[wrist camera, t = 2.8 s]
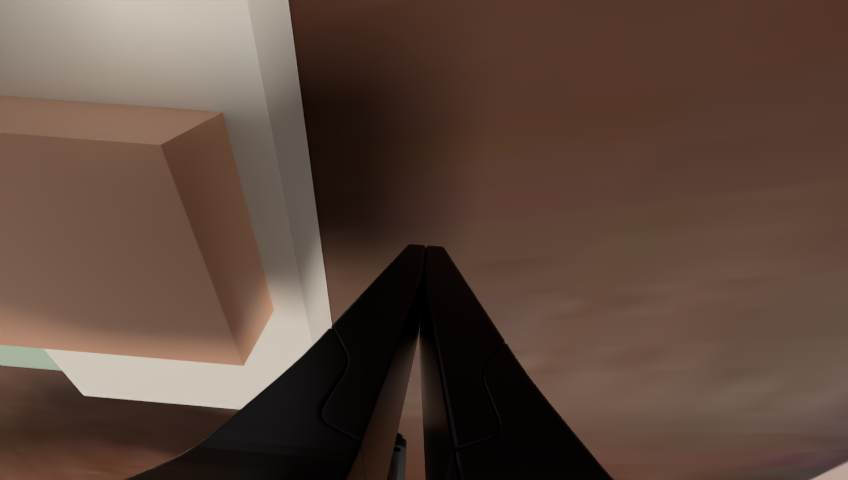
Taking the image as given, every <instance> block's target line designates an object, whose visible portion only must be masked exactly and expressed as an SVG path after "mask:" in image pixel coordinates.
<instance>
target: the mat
mask: <svg viewBox="0 0 848 480" xmlns="http://www.w3.org/2000/svg"><path fill="white" fill-rule="evenodd" d="M0 365H3V366H15V367H26V368H38V369H49V370H61V369H60V368H59V366H58V365H57V364H56V363H55V362H54V361H53V359H52V358H51V357H50V356H49V355H48V354H47V352H46V351H45V350H44V349H42V348H31V347H19V346H7V345H0ZM61 371H62V370H61Z"/></svg>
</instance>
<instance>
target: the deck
mask: <svg viewBox="0 0 848 480" xmlns="http://www.w3.org/2000/svg"><path fill="white" fill-rule="evenodd" d="M0 96H12V97H26V98H39V99H53V100H66V101H80V102H93V103H107V104H120V105H133V106H147V107H160V108H174V109H187V110H201V111H214V112H223V116H224V120H225V124H226V128H227V131H228V135H229V139H230V143H231V147H232V151H233V154H234V158H235V162H236V166H237V170H238V174H239V178H240V181H241V185H242V189H243V193H244V197H245V201H246V204H247V208H248V212H249V216H250V220H251V224H252V227H253V231H254V235H255V239H256V243H257V247H258V250H259V254H260V258H261V262H262V266H263V270H264V273H265V277H266V281H267V285H268V289H269V293H270V296H271V300H272V304H273V308H274V312H273V313H272V315H271V317H270V319H269V321H268V322H267V324H266V326H265V328H264V330H263V332H262V333H261V335H260V337H259V339H258V341H257V342H256V344H255V346H254V348H253V350H252V352H251V353H250V355H249V357H248V359H247V361H246V362H245V364H244V366H240V365H228V364H216V363H205V362H193V361H182V360H170V359H158V358H147V357H135V356H124V355H112V354H100V353H89V352H77V351H65V350H54V349H44V350H45V351H46V352H47V354H48V355H49V356H50V357H51V358H52V359H53V361H54V362H55V363H56V364H57V365H58V366H59V368H60V369H61V370H62V371H63V372H64V373H65V375H66V376H67V377H68V378H69V379H70V380H71V382H72V383H73V384H74V385H75V386H76V387H77V389H78V390H79V391H80V392H81V393H82V394H83V395H84V396H93V397H104V398H115V399H127V400H138V401H149V402H161V403H172V404H184V405H195V406H206V407H218V408H229V409H242V408H243V407H244V406H245V405H246V404H247V403H249V402H250V401H251V400H252V399H253V398H255V397H256V396H257V395H258V394H259V393H260V392H262V391H263V390H264V389H265V388H266V387H268V386H269V385H270V384H271V383H272V382H273V381H275V380H276V379H277V378H278V377H279V376H280V375H281V374H283V373H284V372H285V371H286V370H287V369H288V368H289V367H290V366H292V365H293V364H294V363H295V362H296V361H297V360H298V359H299V358H301V357H302V356H303V355H304V354H305V353H306V352H307V351H308V350H309V349H310V348H311V347H312V346H313V345H314V344H315V343H316V342H317V341H318V340H319V339H320V338H321V336H322V335H323V334H324V333H325V332H326V331H327V330H328V329H329V328H331V326H332V322H331V315H330V307H329V300H328V292H327V285H326V277H325V270H324V262H323V255H322V248H321V240H320V233H319V225H318V218H317V210H316V203H315V195H314V188H313V181H312V173H311V166H310V158H309V151H308V143H307V136H306V128H305V121H304V114H303V106H302V99H301V91H300V84H299V76H298V69H297V61H296V54H295V47H294V39H293V32H292V24H291V17H290V9H289V2H288V0H0Z"/></svg>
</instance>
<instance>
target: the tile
mask: <svg viewBox="0 0 848 480" xmlns="http://www.w3.org/2000/svg"><path fill="white" fill-rule="evenodd" d="M273 312H274V308H273V304H272V300H271V296H270V293H269V289H268V285H267V281H266V277H265V273H264V270H263V266H262V262H261V258H260V254H259V250H258V247H257V243H256V239H255V235H254V231H253V227H252V224H251V220H250V216H249V212H248V208H247V204H246V201H245V197H244V193H243V189H242V185H241V181H240V178H239V174H238V170H237V166H236V162H235V158H234V154H233V151H232V147H231V143H230V139H229V135H228V131H227V128H226V124H225V120H224V116H223V112H214V111H201V110H187V109H174V108H160V107H147V106H133V105H120V104H107V103H93V102H80V101H66V100H53V99H39V98H26V97H12V96H0V345H7V346H19V347H31V348H42V349H54V350H65V351H77V352H89V353H100V354H112V355H124V356H135V357H147V358H158V359H170V360H182V361H193V362H205V363H216V364H228V365H240V366H244V364H245V362H246V361H247V359H248V357H249V355H250V353H251V352H252V350H253V348H254V346H255V344H256V342H257V341H258V339H259V337H260V335H261V333H262V332H263V330H264V328H265V326H266V324H267V322H268V321H269V319H270V317H271V315H272V313H273Z"/></svg>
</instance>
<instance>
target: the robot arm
mask: <svg viewBox="0 0 848 480" xmlns="http://www.w3.org/2000/svg"><path fill="white" fill-rule="evenodd" d="M420 315H421V317H420ZM419 327H420V332H419ZM418 335H419V345H420V367H421V388H422V410H423V432H424V453H425V475H426V480H614V479H613V478H612V477H611V476H610V475H609V474H608V473H607V472H606V471H605V469H604V468H603V467H602V466H601V465H600V464H599V463H598V461H597V460H596V459H595V458H594V456H593V455H592V454H591V453H590V452H589V450H588V449H587V448H586V447H585V445H584V444H583V443H582V442H581V441H580V439H579V438H578V437H577V436H576V435H575V433H574V432H573V431H572V430H571V428H570V427H569V426H568V425H567V424H566V422H565V421H564V420H563V419H562V418H561V416H560V415H559V414H558V413H557V411H556V410H555V409H554V408H553V407H552V405H551V404H550V403H549V402H548V400H547V399H546V398H545V397H544V395H543V394H542V393H541V392H540V390H539V389H538V388H537V386H536V385H535V384H534V383H533V381H532V380H531V379H530V378H529V376H528V375H527V373H526V372H525V370H524V369H523V367H522V366H521V365H520V363H519V362H518V360H517V359H516V357H515V356H514V354H513V353H512V351H511V350H510V348H509V346H508V345H507V344H506V343H505V341H504V339H503V338H502V336H501V334H500V333H499V331H498V330H497V328H496V327H495V325H494V324H493V322H492V321H491V319H490V318H489V316H488V314H487V313H486V311H485V310H484V308H483V307H482V305H481V304H480V302H479V301H478V299H477V298H476V296H475V295H474V293H473V291H472V290H471V288H470V287H469V285H468V284H467V282H466V281H465V279H464V278H463V276H462V275H461V273H460V271H459V270H458V268H457V267H456V265H455V264H454V262H453V261H452V259H451V258H450V256H449V255H448V253H447V251H446V250H445V248H443V247H440V246H427V247H425V246H424V245H416V244H409V245H408V246H407V247H406V248H405V249H404V250H403V251H402V252H401V253H400V254H399V255H398V256H397V257H396V258H395V260H394V261H393V262H392V263H391V264H390V265H389V266H388V267H387V268H386V269H385V270H384V271H383V272H382V273H381V274H380V275H379V276H378V277H377V279H376V280H375V281H374V282H373V283H372V284H371V285H370V286H369V287H368V288H367V289H366V290H365V291H364V292H363V293H362V294H361V295H360V297H359V298H358V299H357V300H356V301H355V302H354V303H353V304H352V305H351V306H350V307H349V308H348V309H347V310H346V311H345V312H344V313H343V314H342V316H341V317H340V318H339V319H338V320H337V321H336V322H335V323H334V324H333V325H332V326H331V328H329V329H328V330H327V331H326V332H325V333H324V334H323V335H322V336H321V338H320V339H319V340H318V341H317V342H316V343H315V344H314V345H313V346H312V347H311V348H310V349H309V350H308V351H307V352H306V353H305V354H304V355H303V356H302V357H301V358H299V359H298V360H297V361H296V362H295V363H294V364H293V365H292V366H290V367H289V368H288V369H287V370H286V371H285V372H284V373H283V374H281V375H280V376H279V377H278V378H277V379H276V380H275V381H273V382H272V383H271V384H270V385H269V386H268V387H266V388H265V389H264V390H263V391H262V392H260V393H259V394H258V395H257V396H256V397H255V398H253V399H252V400H251V401H250V402H249V403H247V404H246V405H245V406H244V407H243V408H242V409H240V410H239V411H238V412H237V413H236V414H234V415H233V416H232V417H231V418H230V419H229V420H227V421H226V422H225V423H224V424H223V425H222V426H220V427H219V428H218V429H217V430H215V431H214V432H213V433H212V434H210V435H209V436H208V437H207V438H205V439H204V440H202V441H201V442H200V443H198V444H197V445H195V446H194V447H192V448H191V449H189V450H187V451H186V452H184V453H183V454H181V455H179V456H177V457H175V458H173V459H171V460H170V461H167V462H165V463H163V464H160V465H158V466H156V467H153V468H151V469H148V470H146V471H143V472H140V473H138V474H135V475H133V476H130V477H128V478H125V479H123V480H404V479H405V461H406V444H407V442H406V440H405V439H403V438H401V437H396V436H397V431H398V427H399V422H400V418H401V413H402V409H403V404H404V400H405V395H406V391H407V386H408V381H409V377H410V372H411V368H412V363H413V359H414V354H415V350H416V345H417V340H418Z"/></svg>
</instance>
